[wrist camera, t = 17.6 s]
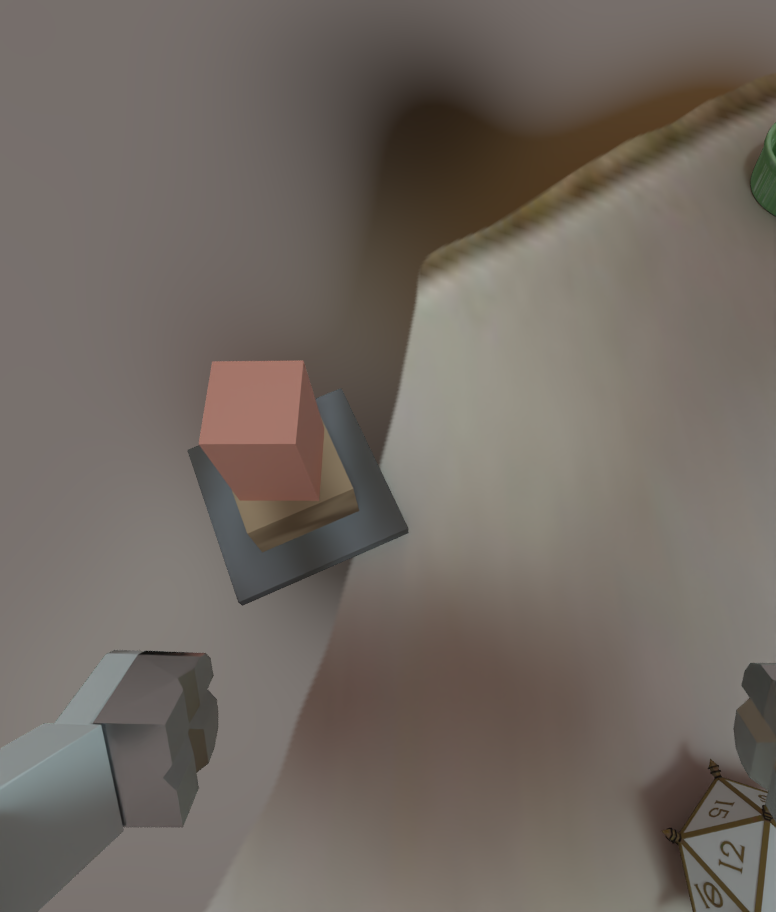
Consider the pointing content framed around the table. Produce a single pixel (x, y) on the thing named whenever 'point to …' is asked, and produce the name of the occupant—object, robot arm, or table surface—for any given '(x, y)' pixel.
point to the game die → (729, 849)
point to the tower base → (318, 543)
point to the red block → (264, 430)
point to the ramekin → (766, 174)
